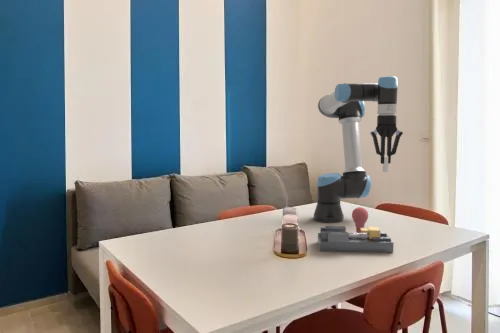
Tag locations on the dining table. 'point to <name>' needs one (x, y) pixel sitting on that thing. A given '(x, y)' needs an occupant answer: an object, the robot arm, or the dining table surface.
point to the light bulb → (359, 218)
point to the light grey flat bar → (358, 235)
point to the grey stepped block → (351, 241)
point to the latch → (371, 231)
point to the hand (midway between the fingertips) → (385, 171)
